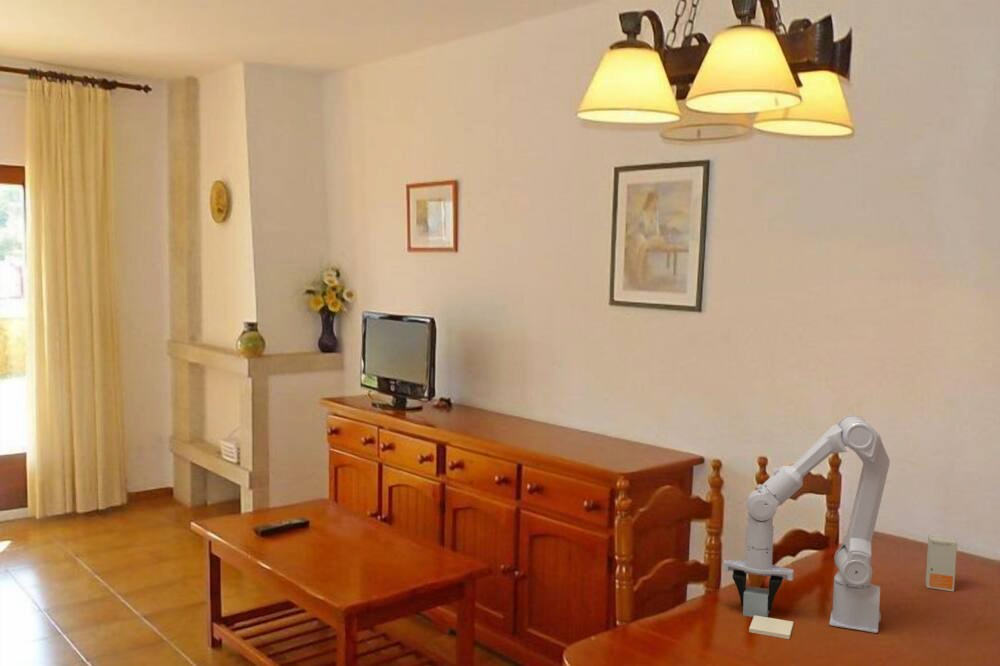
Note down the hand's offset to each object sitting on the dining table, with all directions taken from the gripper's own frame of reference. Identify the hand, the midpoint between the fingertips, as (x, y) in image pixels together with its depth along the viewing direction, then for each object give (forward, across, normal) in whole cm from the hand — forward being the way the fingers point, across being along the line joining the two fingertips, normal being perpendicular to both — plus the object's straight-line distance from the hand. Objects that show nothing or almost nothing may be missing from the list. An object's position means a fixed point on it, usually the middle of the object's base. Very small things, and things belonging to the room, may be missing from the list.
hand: (756, 607), depth 194 cm
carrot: (+2, +2, -14) cm, 15 cm away
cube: (+1, 0, 0) cm, 1 cm away
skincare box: (+2, -38, -38) cm, 53 cm away
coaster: (+1, -4, +8) cm, 9 cm away
